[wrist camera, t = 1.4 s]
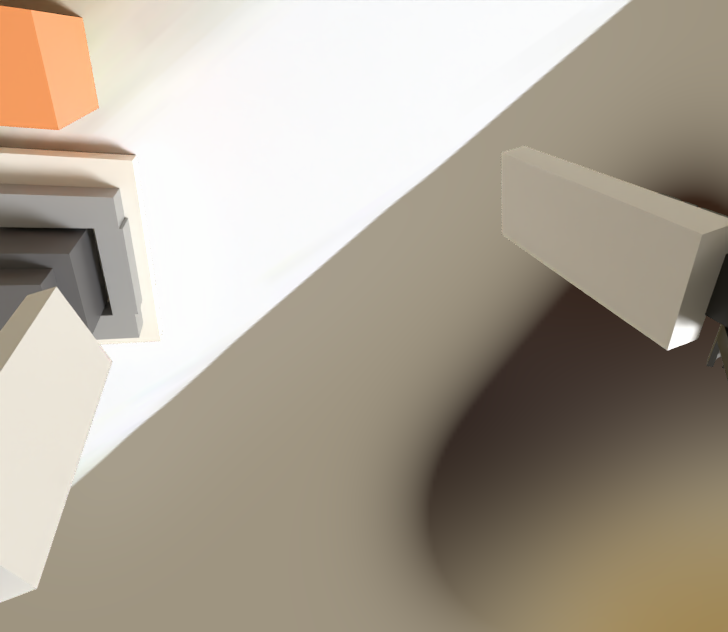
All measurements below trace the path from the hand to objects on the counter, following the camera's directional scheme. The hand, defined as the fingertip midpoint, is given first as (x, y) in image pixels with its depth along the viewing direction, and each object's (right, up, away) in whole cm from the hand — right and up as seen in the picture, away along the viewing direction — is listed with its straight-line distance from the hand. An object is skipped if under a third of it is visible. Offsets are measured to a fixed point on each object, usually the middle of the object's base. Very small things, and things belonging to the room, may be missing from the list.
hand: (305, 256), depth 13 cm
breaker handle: (-19, +2, +16) cm, 25 cm away
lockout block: (-17, +13, +12) cm, 24 cm away
